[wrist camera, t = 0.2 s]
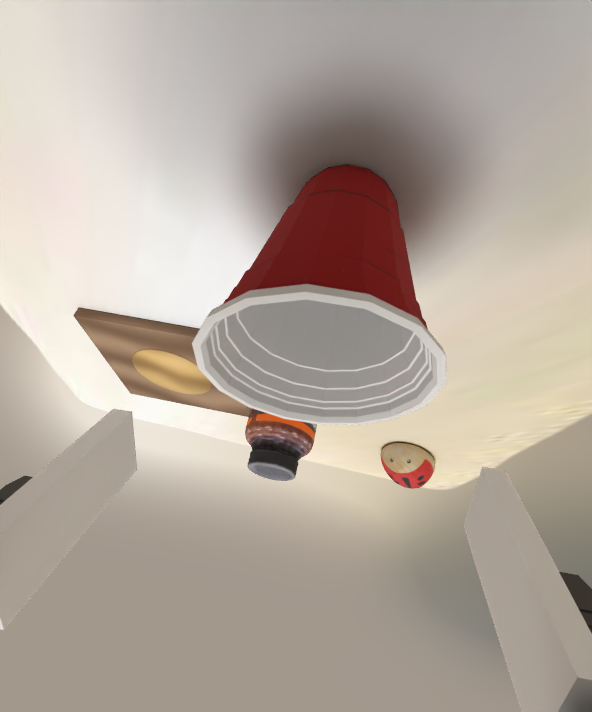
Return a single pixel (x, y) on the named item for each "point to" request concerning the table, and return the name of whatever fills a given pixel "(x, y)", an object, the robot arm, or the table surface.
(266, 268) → the plastic cup
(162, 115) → the table surface
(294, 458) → the supplement bottle
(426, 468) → the ladybug figurine
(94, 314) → the walnut board
